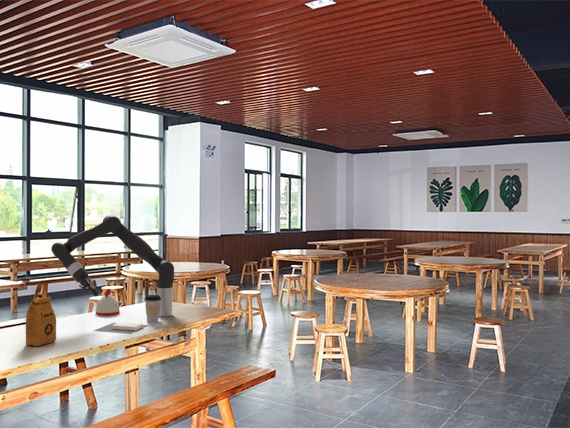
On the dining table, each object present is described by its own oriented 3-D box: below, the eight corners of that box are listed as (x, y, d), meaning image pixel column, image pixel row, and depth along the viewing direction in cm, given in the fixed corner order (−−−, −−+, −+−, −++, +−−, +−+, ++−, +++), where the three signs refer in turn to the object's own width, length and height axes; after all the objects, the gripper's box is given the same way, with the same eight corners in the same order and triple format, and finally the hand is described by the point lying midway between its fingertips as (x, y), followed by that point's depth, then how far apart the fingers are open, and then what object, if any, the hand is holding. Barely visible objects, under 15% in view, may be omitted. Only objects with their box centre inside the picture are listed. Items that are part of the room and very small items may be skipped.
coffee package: (59, 342, 246) (60, 296, 246) (37, 348, 235) (37, 300, 235) (45, 339, 250) (45, 295, 250) (22, 345, 239) (23, 298, 239)
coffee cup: (156, 324, 287) (156, 297, 287) (141, 323, 289) (141, 296, 289) (163, 320, 296) (164, 295, 296) (148, 319, 298) (149, 294, 298)
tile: (111, 325, 272) (135, 327, 269) (119, 322, 280) (143, 323, 276) (111, 329, 272) (135, 331, 269) (119, 325, 280) (142, 327, 277)
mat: (92, 331, 268) (92, 330, 268) (113, 323, 287) (113, 322, 287) (130, 334, 263) (130, 333, 263) (149, 326, 282) (149, 325, 282)
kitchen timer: (122, 311, 322) (122, 287, 321) (115, 315, 308) (115, 291, 308) (99, 311, 321) (100, 287, 321) (92, 315, 307) (92, 290, 307)
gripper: (74, 268, 273) (94, 292, 271) (89, 265, 286) (108, 288, 284) (65, 278, 274) (86, 302, 272) (80, 275, 287) (100, 297, 285)
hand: (97, 295), depth 278 cm, fingers closed
